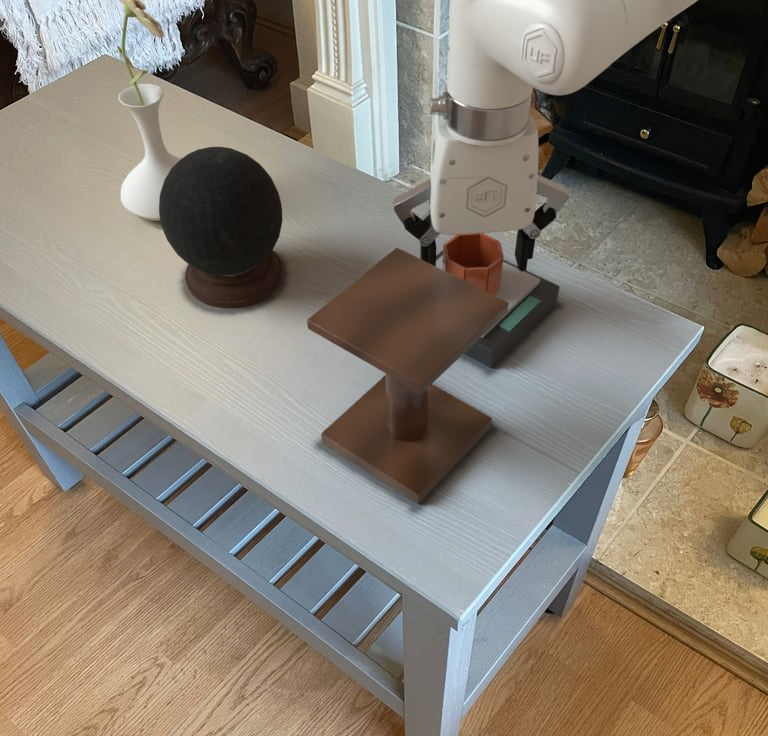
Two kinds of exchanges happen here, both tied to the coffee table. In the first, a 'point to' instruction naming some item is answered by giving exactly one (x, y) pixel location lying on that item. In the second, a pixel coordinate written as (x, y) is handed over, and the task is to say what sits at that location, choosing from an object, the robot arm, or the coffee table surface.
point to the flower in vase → (144, 129)
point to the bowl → (474, 260)
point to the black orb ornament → (223, 226)
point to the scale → (513, 311)
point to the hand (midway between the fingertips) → (475, 266)
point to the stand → (407, 369)
